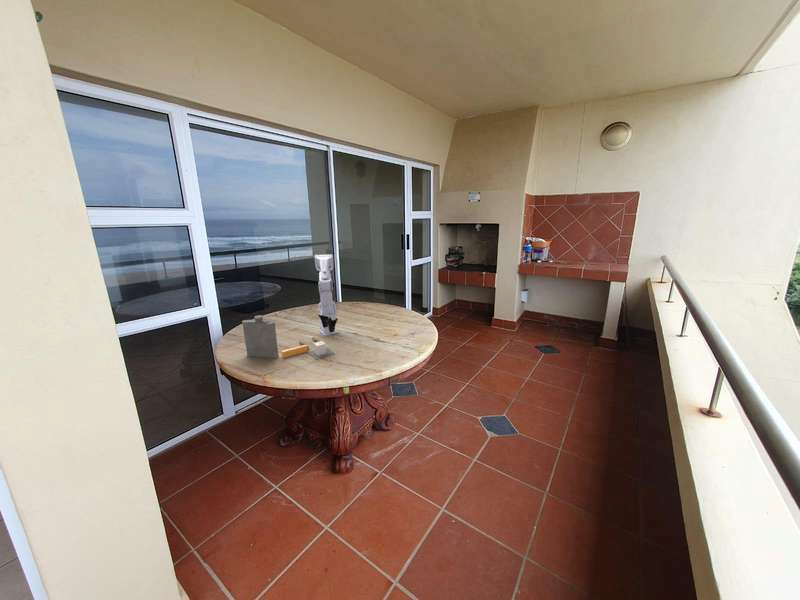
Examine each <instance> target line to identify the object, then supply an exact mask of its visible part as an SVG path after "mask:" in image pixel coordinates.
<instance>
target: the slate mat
mask: <svg viewBox="0 0 800 600" xmlns="http://www.w3.org/2000/svg"><path fill="white" fill-rule="evenodd" d="M326 349H327V353H326V354H323V355H319V356H318V355H317V354H315V353H314V349H313V350H311V351H310V350H308V351H307V354H308V355H309V356H311V357H312V358H313V360H315V361H317V360H320V359H324V358H327V357H330V356H334V355H336V353H335V352H334V351H333V350H331V349H330V348H328V347H327V346H326Z"/></svg>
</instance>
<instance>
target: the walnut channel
mask: <svg viewBox="0 0 800 600" xmlns="http://www.w3.org/2000/svg"><path fill="white" fill-rule="evenodd" d="M311 340H312V341H313V343H316V342H320V341H321V340H319V339H318V338H317V337H316V336H312V337H311ZM298 343H299V345H300V346H303V345H307V343H305V342H304V340H302V339H300V340H298ZM309 347H310V346H309V345H307V349H308V350H310V348H309Z"/></svg>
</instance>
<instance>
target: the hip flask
mask: <svg viewBox="0 0 800 600" xmlns="http://www.w3.org/2000/svg"><path fill="white" fill-rule="evenodd" d="M253 318H254V319H246V320H245V319H244V320H242V321H241V323H242V330H243V336H244V343H245V350H246V356H247V357H259V358H269V359H277V358H279V348H278V338H277V333H276V332H277V330H276V322H275V321H272V320H268V319H267V320H266V319H263V318H264V316H263V315H260V314H259V315H255V316H254V317H253Z"/></svg>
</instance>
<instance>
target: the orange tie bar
mask: <svg viewBox="0 0 800 600" xmlns="http://www.w3.org/2000/svg"><path fill="white" fill-rule="evenodd" d="M306 352H309V349H307V345H303V346H302V345H299V346H296V347H291V348H288V349H284V350H281V358H282V359H285V358H288V357H291V356H295V355H300V354H303V353H306Z"/></svg>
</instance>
